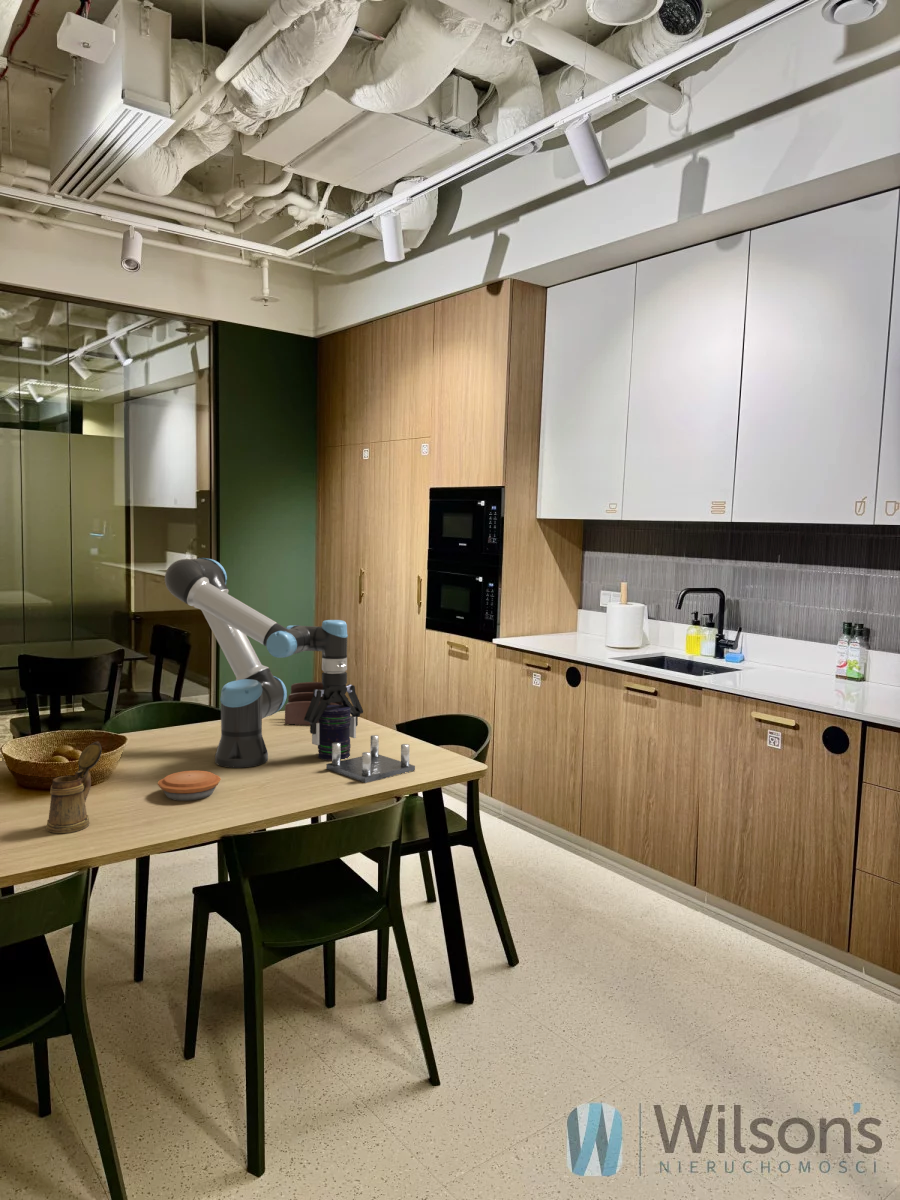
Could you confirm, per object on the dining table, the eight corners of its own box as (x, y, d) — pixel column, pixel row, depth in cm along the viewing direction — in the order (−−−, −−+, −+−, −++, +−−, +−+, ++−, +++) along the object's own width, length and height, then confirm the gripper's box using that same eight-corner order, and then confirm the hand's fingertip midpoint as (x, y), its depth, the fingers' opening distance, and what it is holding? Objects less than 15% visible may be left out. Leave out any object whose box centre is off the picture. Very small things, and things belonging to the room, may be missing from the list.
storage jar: (313, 753, 260) (314, 705, 259) (344, 750, 265) (344, 703, 263) (323, 762, 251) (323, 712, 250) (354, 758, 256) (355, 709, 254)
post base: (365, 782, 231) (365, 755, 230) (326, 769, 244) (326, 743, 243) (414, 770, 243) (415, 745, 243) (375, 758, 256) (375, 733, 256)
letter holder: (291, 719, 309) (291, 680, 308) (345, 720, 308) (345, 682, 307) (284, 725, 299) (284, 685, 298) (340, 727, 298) (340, 687, 297)
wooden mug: (113, 818, 200) (112, 743, 198) (64, 836, 188) (62, 756, 186) (87, 812, 204) (86, 738, 202) (37, 829, 192) (35, 751, 190)
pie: (233, 790, 223) (233, 771, 223) (193, 807, 209) (192, 787, 209) (187, 782, 229) (186, 764, 229) (144, 798, 215) (144, 779, 215)
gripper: (306, 677, 245) (306, 749, 246) (374, 668, 262) (374, 736, 264) (292, 674, 250) (292, 745, 252) (359, 665, 267) (359, 732, 269)
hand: (334, 740), depth 258 cm, fingers open, 13 cm apart
